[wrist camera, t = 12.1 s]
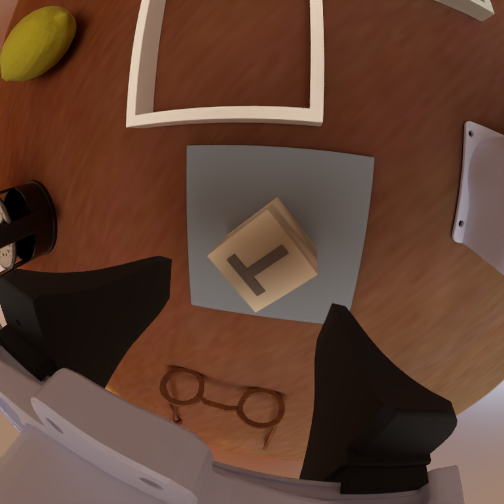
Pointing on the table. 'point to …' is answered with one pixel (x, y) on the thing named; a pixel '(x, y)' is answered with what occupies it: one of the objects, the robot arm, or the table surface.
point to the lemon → (37, 43)
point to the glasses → (219, 406)
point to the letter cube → (266, 256)
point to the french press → (26, 225)
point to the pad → (299, 205)
